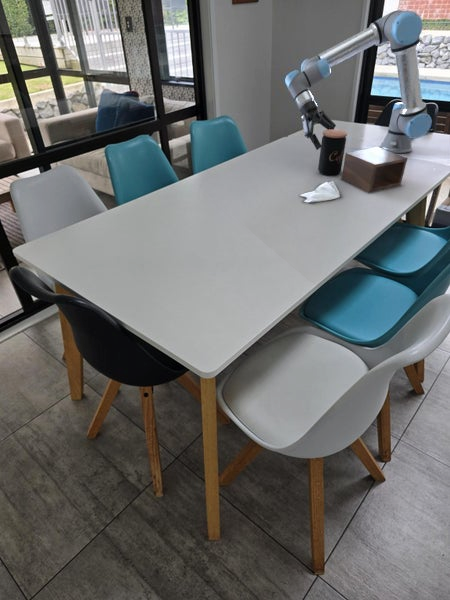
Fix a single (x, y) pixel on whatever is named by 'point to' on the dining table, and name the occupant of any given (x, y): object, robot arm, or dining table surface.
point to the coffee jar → (332, 152)
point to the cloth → (322, 193)
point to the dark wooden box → (373, 169)
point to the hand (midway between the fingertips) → (328, 145)
